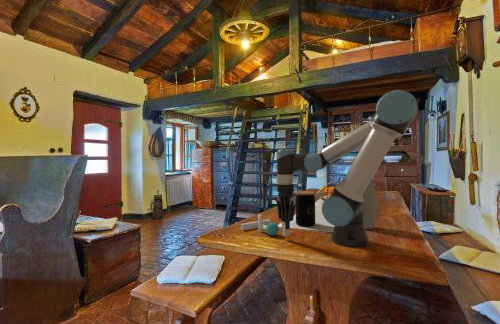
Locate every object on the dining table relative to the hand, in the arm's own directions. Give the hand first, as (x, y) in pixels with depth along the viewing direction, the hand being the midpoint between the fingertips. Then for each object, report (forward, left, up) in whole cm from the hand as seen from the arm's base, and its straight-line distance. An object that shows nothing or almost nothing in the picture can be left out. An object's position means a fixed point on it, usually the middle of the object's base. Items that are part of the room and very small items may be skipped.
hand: (285, 235), depth 118 cm
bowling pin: (-8, -47, -2) cm, 48 cm away
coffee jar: (+15, -26, -2) cm, 30 cm away
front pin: (+13, -1, -1) cm, 13 cm away
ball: (+9, +1, +1) cm, 9 cm away
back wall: (+25, 0, -2) cm, 25 cm away
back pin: (+17, +2, -2) cm, 17 cm away
